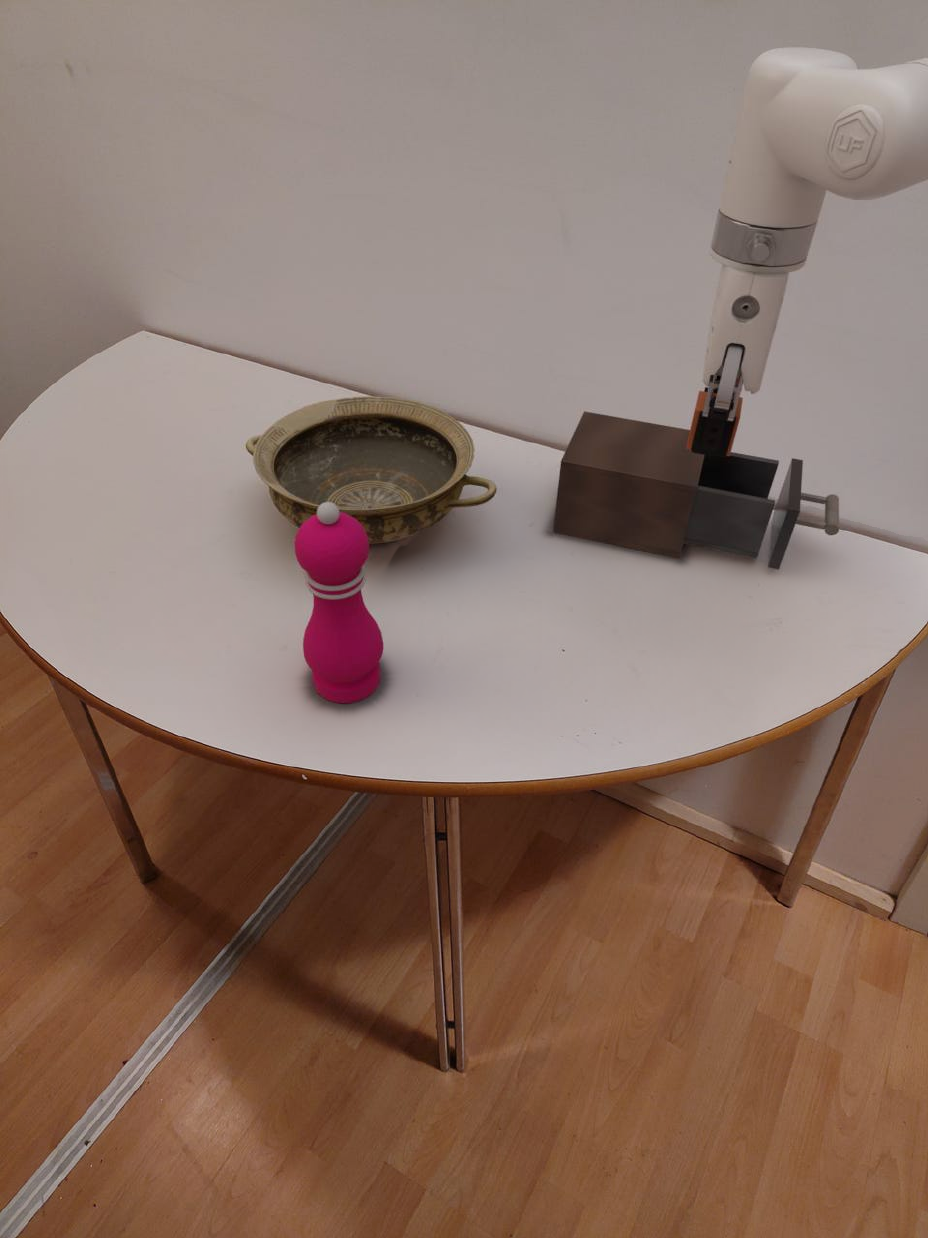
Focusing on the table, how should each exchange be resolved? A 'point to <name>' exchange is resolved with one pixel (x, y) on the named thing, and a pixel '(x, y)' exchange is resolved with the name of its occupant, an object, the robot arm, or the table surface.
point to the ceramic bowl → (369, 464)
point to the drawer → (751, 507)
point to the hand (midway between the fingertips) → (710, 439)
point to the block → (700, 407)
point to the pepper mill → (338, 606)
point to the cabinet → (627, 484)
